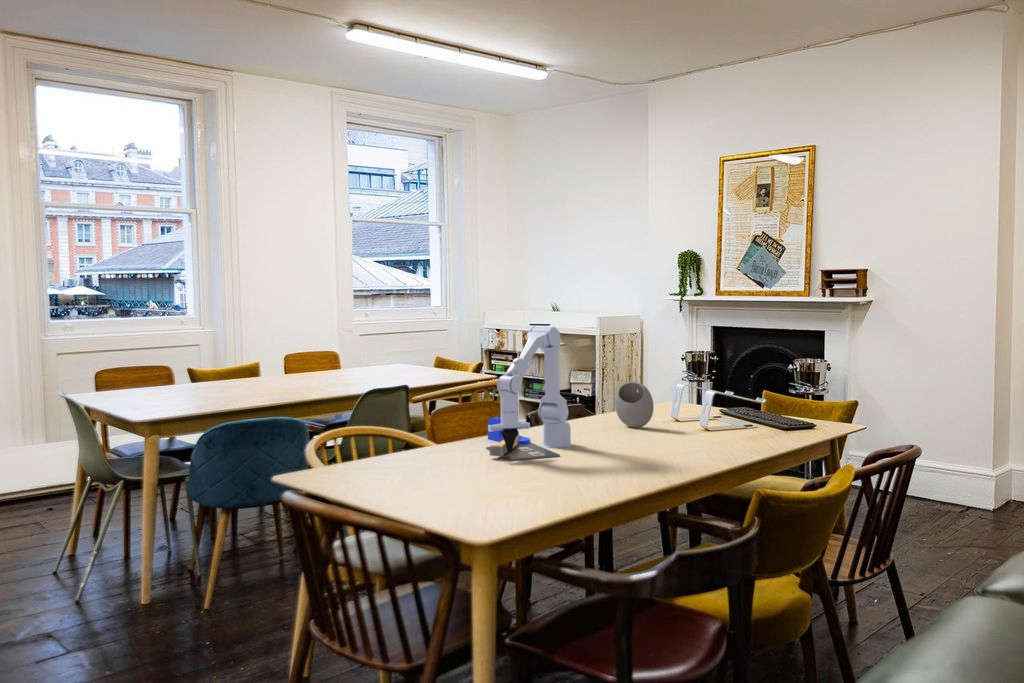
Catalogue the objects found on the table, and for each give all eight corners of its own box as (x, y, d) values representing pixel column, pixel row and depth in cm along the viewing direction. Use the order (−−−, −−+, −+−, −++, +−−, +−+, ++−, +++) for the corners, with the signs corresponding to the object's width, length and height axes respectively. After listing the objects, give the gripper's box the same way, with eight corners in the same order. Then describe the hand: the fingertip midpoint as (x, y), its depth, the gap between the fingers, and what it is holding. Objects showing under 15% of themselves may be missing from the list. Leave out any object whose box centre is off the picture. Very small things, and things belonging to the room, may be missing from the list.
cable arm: (508, 444, 293) (507, 435, 293) (519, 445, 292) (519, 436, 291) (489, 455, 274) (489, 446, 274) (502, 456, 273) (502, 447, 272)
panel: (531, 445, 298) (531, 430, 298) (559, 457, 278) (559, 441, 277) (485, 449, 291) (485, 434, 291) (510, 462, 271) (510, 445, 270)
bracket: (487, 440, 310) (487, 416, 310) (505, 437, 315) (505, 414, 314) (516, 447, 296) (516, 422, 295) (535, 445, 301) (535, 420, 300)
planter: (610, 426, 339) (610, 380, 338) (620, 424, 345) (620, 379, 343) (647, 431, 327) (648, 384, 325) (657, 429, 332) (658, 382, 330)
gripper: (524, 408, 282) (524, 447, 283) (484, 410, 277) (484, 450, 278) (532, 410, 276) (532, 451, 277) (492, 413, 270) (492, 454, 271)
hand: (509, 451), depth 277 cm, fingers closed
